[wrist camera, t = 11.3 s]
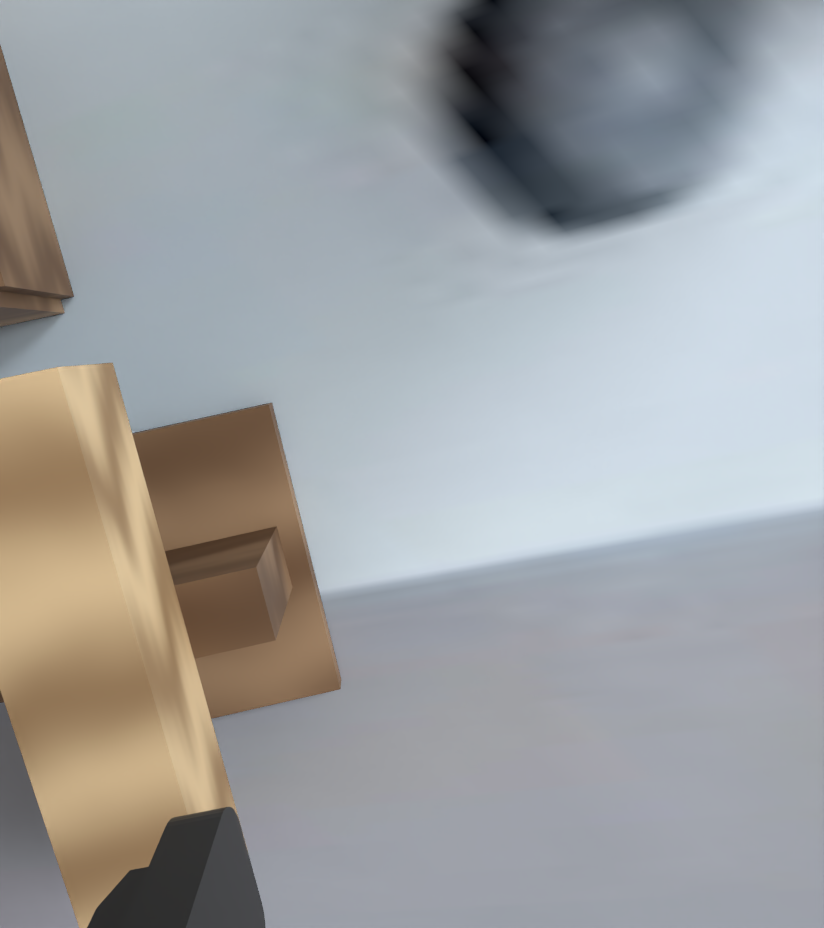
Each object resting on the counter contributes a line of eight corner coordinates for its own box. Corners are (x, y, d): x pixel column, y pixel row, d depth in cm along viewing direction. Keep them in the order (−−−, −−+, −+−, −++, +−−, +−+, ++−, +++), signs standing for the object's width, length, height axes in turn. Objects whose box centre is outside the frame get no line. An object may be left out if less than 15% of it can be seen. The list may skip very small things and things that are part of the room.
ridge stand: (-9, 464, 32) (-111, 496, 25) (271, 402, 33) (245, 418, 26) (81, 738, 35) (10, 836, 28) (341, 679, 35) (334, 762, 28)
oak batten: (-14, 388, 25) (-97, 398, 20) (112, 362, 25) (57, 367, 21) (138, 877, 28) (95, 976, 24) (248, 853, 29) (226, 946, 24)
